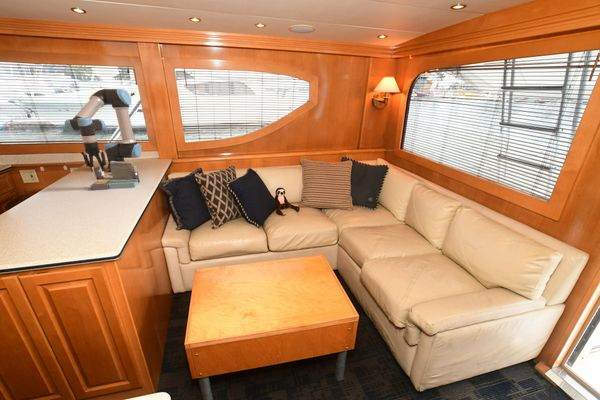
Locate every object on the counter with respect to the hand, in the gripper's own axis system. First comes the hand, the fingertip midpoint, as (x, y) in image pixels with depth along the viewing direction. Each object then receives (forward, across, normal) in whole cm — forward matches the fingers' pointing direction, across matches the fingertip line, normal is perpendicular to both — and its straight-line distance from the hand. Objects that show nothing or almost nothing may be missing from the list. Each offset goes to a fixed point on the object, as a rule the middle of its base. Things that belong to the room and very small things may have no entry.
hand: (99, 175), depth 189 cm
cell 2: (+9, +20, +8) cm, 23 cm away
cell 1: (+2, 0, 0) cm, 2 cm away
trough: (+9, +14, 0) cm, 16 cm away
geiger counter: (+9, +7, +20) cm, 22 cm away
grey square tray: (+9, 0, 0) cm, 9 cm away
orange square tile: (+6, 0, 0) cm, 6 cm away
